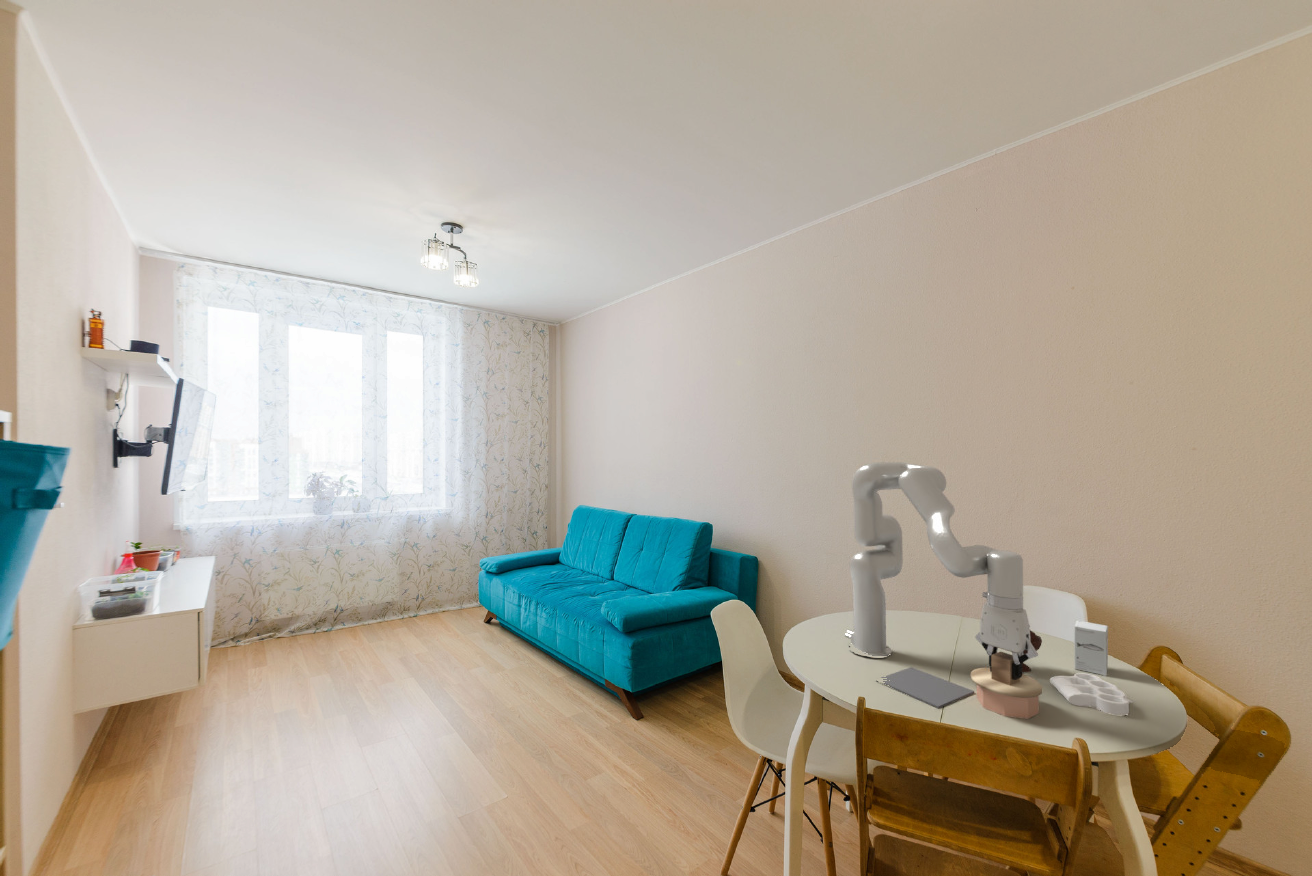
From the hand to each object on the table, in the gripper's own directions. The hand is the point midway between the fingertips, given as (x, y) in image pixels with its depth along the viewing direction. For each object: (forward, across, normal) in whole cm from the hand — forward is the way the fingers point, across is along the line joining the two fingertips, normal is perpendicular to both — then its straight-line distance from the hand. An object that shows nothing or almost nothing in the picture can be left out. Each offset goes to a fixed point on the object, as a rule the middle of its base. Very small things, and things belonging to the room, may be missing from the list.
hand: (1005, 673), depth 135 cm
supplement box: (+8, +1, +44) cm, 45 cm away
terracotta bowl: (+8, 0, 0) cm, 8 cm away
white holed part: (+8, +10, +23) cm, 26 cm away
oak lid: (+2, 0, 0) cm, 2 cm away
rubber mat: (+8, -17, -8) cm, 20 cm away
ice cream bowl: (+8, -10, +27) cm, 30 cm away
